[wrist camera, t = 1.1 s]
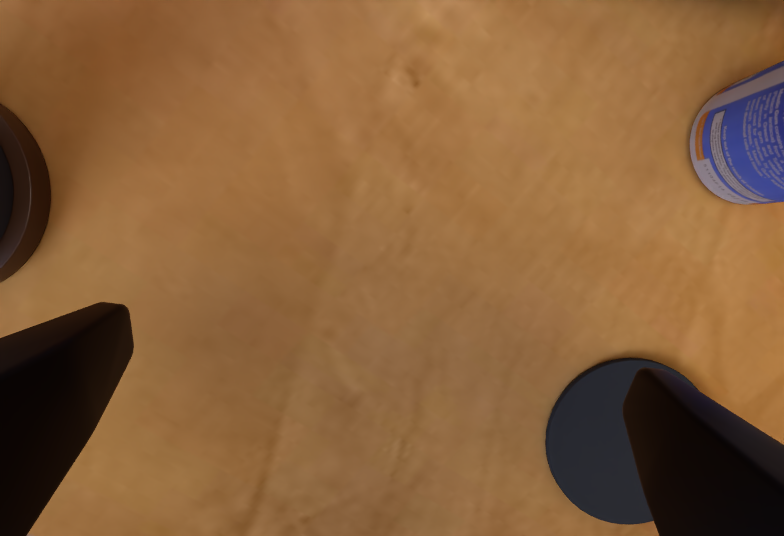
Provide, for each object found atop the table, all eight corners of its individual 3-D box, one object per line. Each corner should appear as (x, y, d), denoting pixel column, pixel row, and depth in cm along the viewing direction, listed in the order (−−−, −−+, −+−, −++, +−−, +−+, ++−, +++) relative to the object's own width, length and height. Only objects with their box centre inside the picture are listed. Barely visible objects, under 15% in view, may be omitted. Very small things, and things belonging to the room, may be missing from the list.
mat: (596, 549, 23) (600, 555, 23) (514, 412, 23) (517, 415, 22) (738, 466, 23) (745, 470, 23) (660, 326, 23) (665, 328, 22)
